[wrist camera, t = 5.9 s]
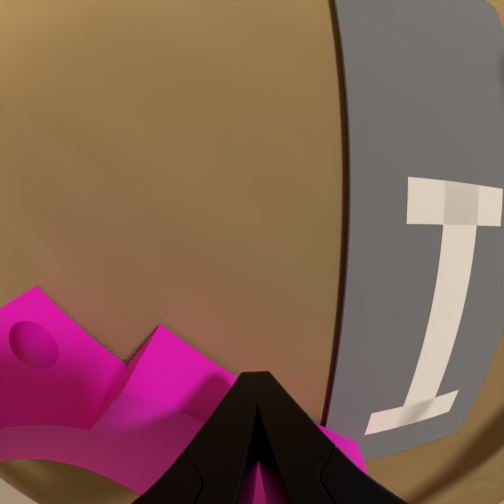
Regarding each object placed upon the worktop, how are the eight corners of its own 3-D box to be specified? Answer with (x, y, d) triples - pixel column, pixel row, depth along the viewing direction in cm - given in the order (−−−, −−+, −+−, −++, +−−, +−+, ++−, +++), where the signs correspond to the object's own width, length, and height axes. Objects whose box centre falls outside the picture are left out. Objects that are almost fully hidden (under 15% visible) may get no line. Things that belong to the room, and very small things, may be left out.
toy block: (357, 443, 11) (399, 574, 4) (266, 495, 12) (271, 605, 5) (58, 235, 8) (-125, 325, 1) (17, 341, 10) (-81, 436, 2)
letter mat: (492, 8, 6) (494, 6, 6) (457, 429, 12) (458, 431, 12) (321, -54, 6) (322, -57, 6) (315, 466, 12) (316, 469, 11)
